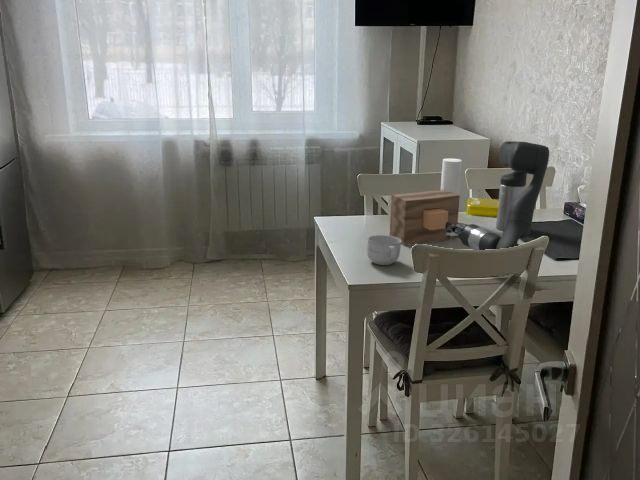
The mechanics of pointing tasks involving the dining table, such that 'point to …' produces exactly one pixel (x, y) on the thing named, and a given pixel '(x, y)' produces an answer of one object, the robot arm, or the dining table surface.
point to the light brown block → (434, 218)
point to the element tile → (482, 207)
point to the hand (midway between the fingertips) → (447, 224)
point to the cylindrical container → (451, 175)
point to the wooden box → (420, 215)
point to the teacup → (383, 249)
